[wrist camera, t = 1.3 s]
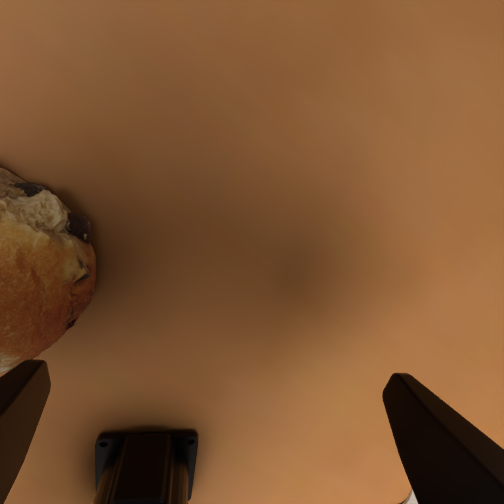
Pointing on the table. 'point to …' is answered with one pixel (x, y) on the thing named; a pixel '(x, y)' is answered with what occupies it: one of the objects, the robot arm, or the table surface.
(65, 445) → the table surface
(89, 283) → the bread roll
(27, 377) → the robot arm
